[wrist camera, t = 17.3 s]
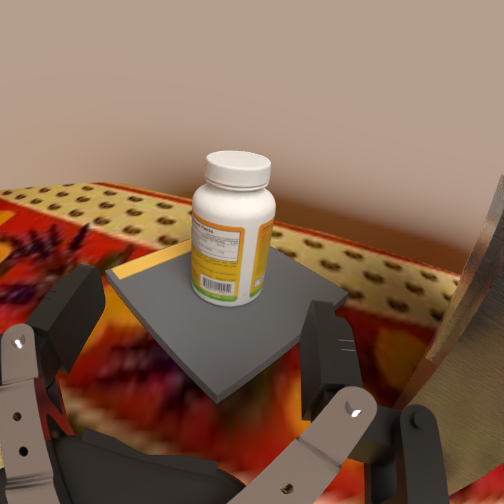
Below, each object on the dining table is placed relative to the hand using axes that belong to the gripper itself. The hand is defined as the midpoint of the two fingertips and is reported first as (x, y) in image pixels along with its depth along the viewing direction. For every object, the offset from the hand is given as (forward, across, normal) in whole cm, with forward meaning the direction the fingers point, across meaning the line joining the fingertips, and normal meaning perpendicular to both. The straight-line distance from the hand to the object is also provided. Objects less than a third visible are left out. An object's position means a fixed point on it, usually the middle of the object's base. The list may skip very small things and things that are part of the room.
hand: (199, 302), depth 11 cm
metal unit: (+3, +17, -8) cm, 19 cm away
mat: (+10, 0, -8) cm, 13 cm away
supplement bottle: (+10, 0, -8) cm, 13 cm away
